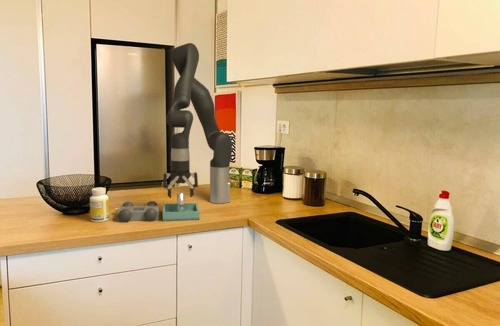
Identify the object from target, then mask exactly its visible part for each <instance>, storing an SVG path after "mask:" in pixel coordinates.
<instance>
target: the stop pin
mask: <svg viewBox="0 0 500 326" xmlns="http://www.w3.org/2000/svg"><path fill="white" fill-rule="evenodd" d="M185 194H186V193H185V192H184V191H179V192H177V193H176V203H177V212H185V203H186V202H185V201H186V198H185V197H186V195H185Z"/></svg>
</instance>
